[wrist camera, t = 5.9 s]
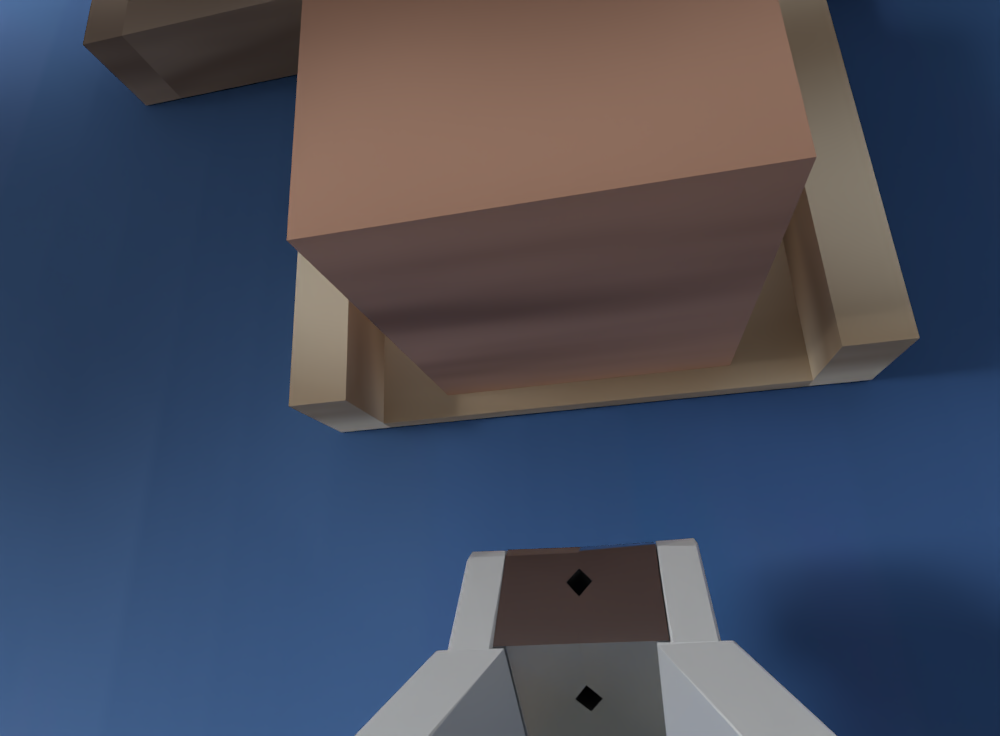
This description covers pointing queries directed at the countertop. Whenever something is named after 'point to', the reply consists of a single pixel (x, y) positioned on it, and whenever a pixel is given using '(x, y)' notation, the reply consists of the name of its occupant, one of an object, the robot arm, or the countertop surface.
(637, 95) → the mahogany brick
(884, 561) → the countertop surface
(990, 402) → the countertop surface
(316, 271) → the wooden cross frame
